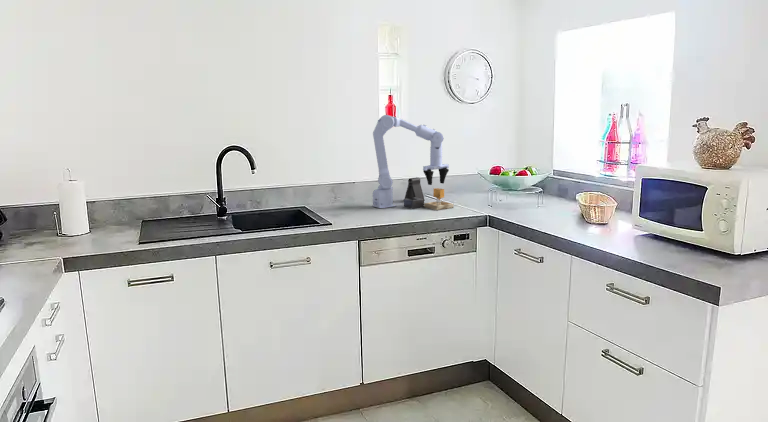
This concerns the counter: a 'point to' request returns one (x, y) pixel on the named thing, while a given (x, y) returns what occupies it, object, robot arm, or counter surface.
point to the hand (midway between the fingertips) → (436, 184)
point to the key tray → (433, 206)
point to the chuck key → (438, 195)
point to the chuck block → (414, 203)
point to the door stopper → (414, 189)
